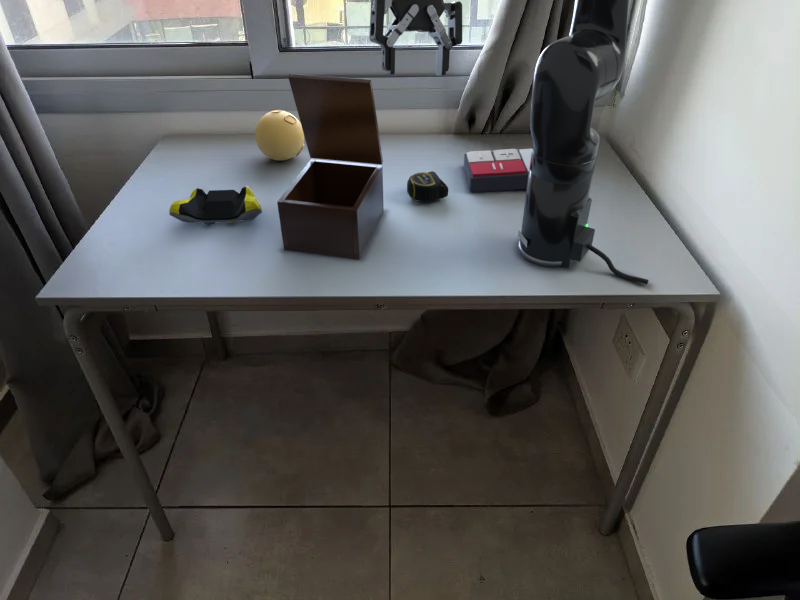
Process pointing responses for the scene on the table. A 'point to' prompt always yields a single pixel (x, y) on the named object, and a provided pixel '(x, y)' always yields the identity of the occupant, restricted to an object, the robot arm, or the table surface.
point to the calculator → (497, 169)
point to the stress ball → (279, 135)
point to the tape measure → (426, 187)
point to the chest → (332, 208)
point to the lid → (338, 117)
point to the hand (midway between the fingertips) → (415, 75)
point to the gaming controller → (217, 206)
